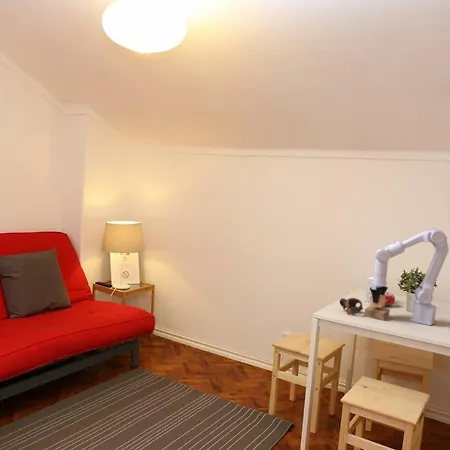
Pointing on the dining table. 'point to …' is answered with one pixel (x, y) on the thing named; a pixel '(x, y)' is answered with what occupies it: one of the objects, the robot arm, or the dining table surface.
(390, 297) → the soda can
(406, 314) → the dining table surface
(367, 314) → the light tan wooden block
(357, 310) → the pottery mug
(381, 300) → the terracotta block
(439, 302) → the dining table surface
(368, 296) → the supplement box
